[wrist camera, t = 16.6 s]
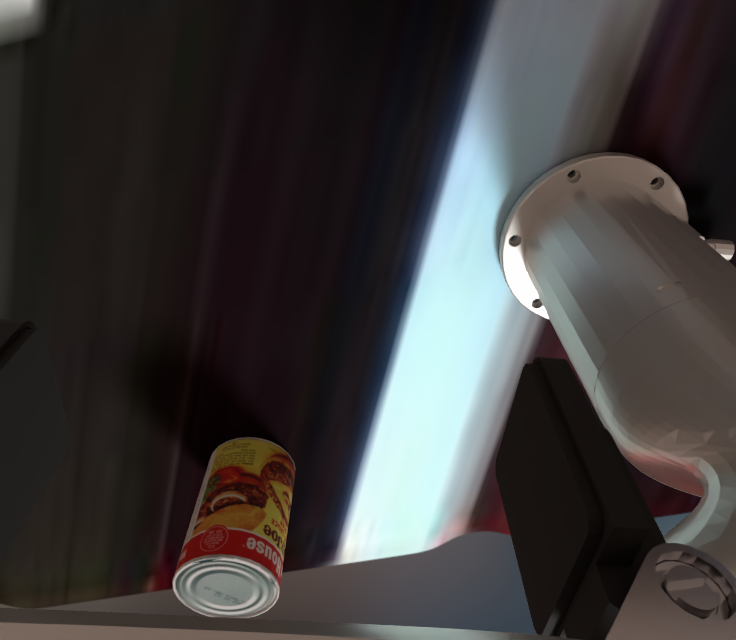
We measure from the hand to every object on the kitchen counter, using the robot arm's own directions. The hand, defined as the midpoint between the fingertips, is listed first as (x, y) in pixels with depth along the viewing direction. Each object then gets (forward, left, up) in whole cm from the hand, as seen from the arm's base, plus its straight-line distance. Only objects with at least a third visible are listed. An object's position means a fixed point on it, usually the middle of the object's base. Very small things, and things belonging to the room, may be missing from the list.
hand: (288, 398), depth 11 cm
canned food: (+6, +33, -28) cm, 44 cm away
